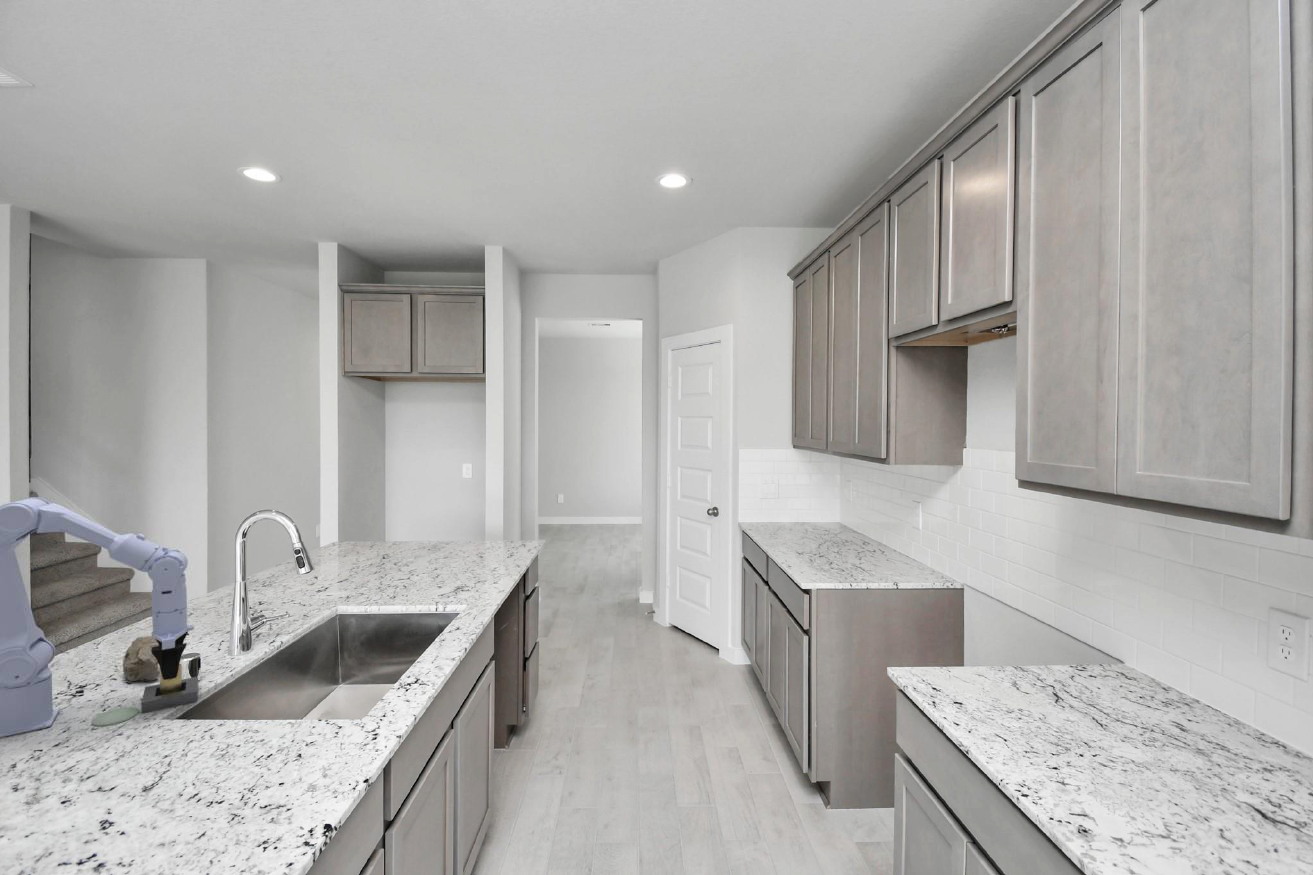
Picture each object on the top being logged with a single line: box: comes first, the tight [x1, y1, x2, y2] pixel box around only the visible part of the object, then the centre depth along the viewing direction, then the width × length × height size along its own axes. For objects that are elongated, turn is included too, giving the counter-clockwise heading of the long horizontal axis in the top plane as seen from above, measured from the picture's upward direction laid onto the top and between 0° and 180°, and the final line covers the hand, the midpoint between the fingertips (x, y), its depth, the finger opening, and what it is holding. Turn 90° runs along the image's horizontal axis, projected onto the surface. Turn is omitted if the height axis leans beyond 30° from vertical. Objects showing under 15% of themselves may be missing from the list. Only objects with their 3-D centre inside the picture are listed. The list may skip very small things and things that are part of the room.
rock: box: [122, 635, 160, 682], centre depth 139 cm, size 12×7×10 cm, turn 38°
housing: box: [140, 676, 199, 715], centre depth 127 cm, size 9×9×2 cm
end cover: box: [159, 663, 183, 695], centre depth 127 cm, size 4×4×7 cm
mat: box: [91, 706, 140, 727], centre depth 119 cm, size 7×7×1 cm
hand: (171, 672), depth 127 cm, fingers open, 7 cm apart
